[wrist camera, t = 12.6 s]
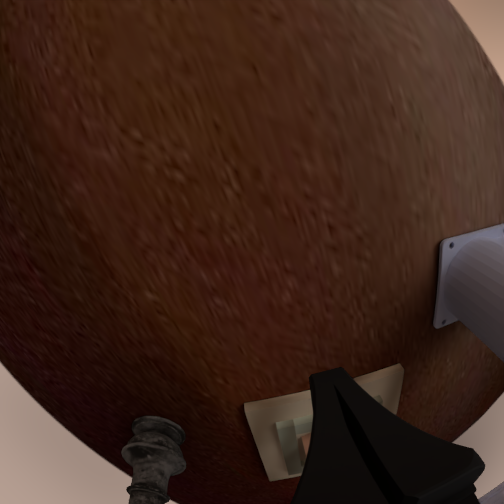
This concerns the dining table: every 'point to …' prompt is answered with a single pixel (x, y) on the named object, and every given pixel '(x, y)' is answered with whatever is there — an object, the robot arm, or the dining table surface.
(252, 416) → the pocket board
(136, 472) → the dark grey chess piece
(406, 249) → the dining table surface
